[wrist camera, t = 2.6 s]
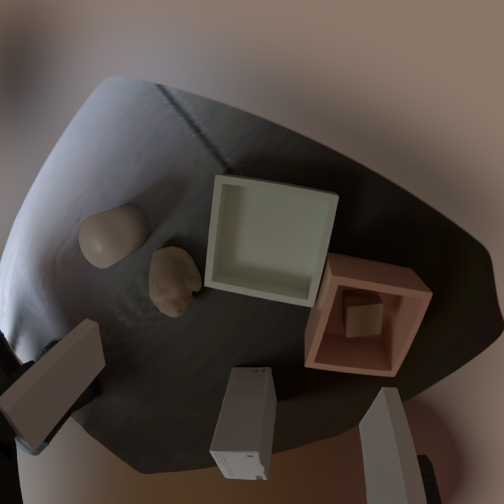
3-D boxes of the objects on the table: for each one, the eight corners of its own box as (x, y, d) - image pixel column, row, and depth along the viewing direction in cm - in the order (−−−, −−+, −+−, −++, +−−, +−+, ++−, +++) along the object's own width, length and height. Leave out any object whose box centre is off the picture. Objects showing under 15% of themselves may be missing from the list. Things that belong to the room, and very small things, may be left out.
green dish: (211, 275, 35) (204, 285, 32) (223, 173, 31) (215, 174, 28) (312, 295, 34) (313, 307, 31) (335, 192, 30) (339, 195, 27)
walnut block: (342, 319, 34) (346, 337, 30) (342, 290, 32) (347, 306, 29) (373, 316, 33) (380, 334, 29) (375, 287, 32) (383, 303, 28)
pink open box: (304, 331, 36) (304, 366, 29) (325, 251, 32) (331, 275, 25) (382, 342, 34) (394, 376, 28) (410, 268, 31) (432, 293, 24)
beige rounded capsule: (111, 245, 36) (80, 262, 30) (111, 202, 34) (77, 212, 28) (148, 253, 36) (119, 273, 29) (149, 207, 34) (118, 219, 27)
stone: (158, 270, 39) (166, 324, 36) (134, 252, 34) (140, 313, 30) (201, 255, 39) (213, 311, 35) (183, 234, 33) (194, 297, 30)
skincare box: (232, 366, 39) (204, 447, 25) (273, 365, 38) (259, 451, 24) (242, 403, 42) (221, 479, 28) (279, 403, 40) (268, 483, 26)
